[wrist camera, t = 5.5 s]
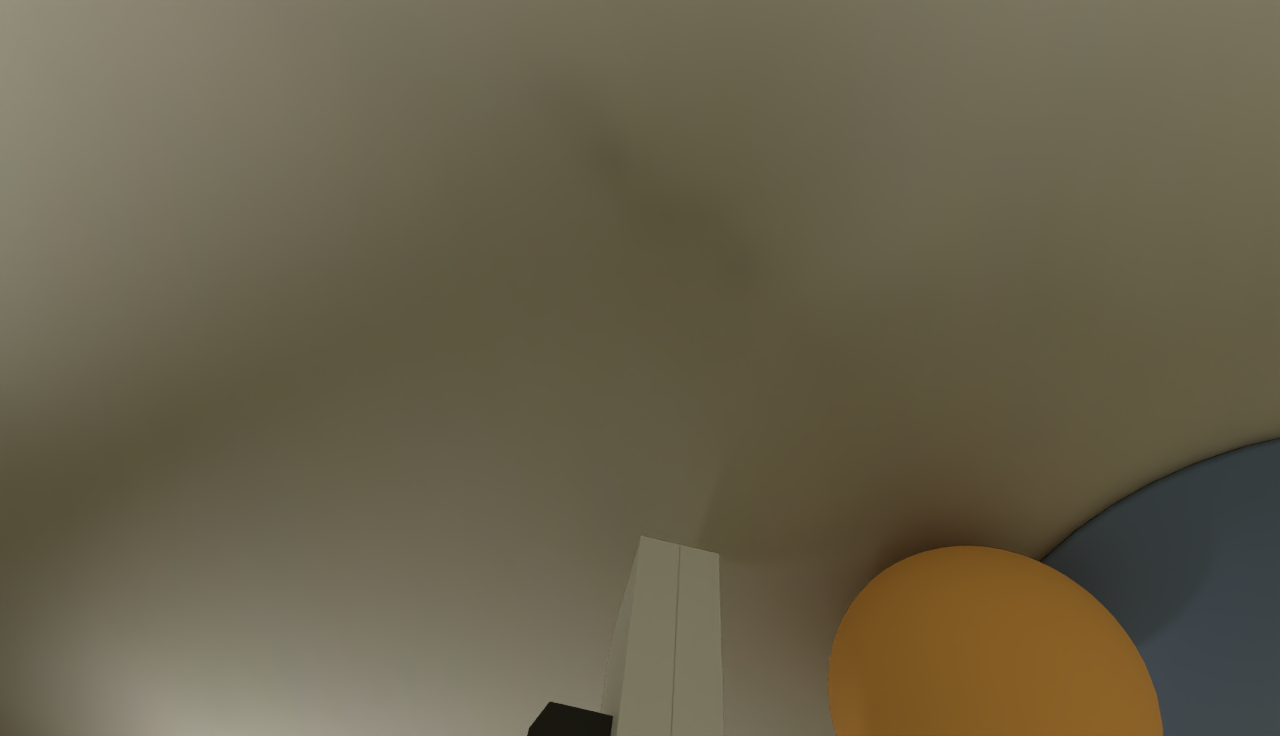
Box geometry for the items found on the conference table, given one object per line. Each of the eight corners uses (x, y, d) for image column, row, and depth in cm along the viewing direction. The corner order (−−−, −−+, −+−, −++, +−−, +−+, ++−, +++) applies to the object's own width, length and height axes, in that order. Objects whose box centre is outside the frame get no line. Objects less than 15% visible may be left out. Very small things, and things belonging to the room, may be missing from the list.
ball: (1128, 980, 12) (1012, 705, 17) (1325, 773, 10) (1124, 521, 15) (808, 911, 12) (782, 655, 17) (927, 686, 10) (858, 463, 15)
